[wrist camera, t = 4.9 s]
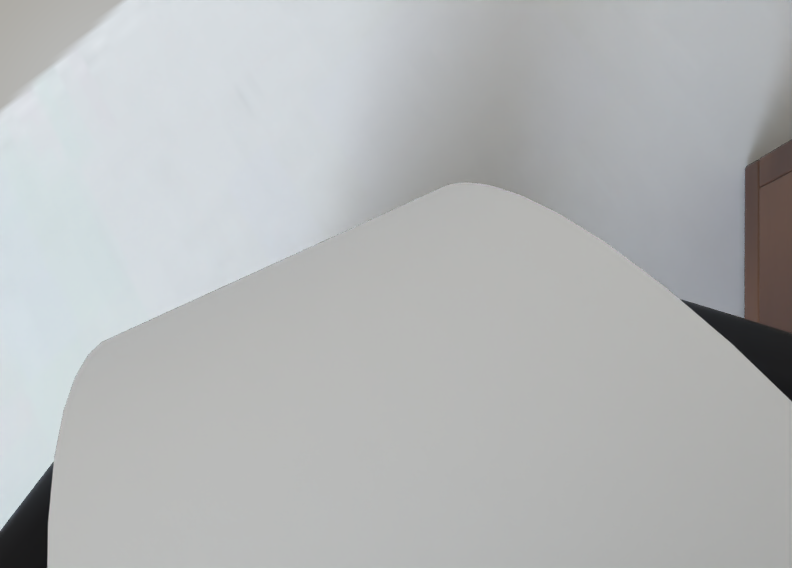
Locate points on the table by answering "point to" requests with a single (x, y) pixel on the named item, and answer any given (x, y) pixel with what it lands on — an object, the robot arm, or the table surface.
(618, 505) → the headphone stand
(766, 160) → the divided wooden tray
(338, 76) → the table surface
